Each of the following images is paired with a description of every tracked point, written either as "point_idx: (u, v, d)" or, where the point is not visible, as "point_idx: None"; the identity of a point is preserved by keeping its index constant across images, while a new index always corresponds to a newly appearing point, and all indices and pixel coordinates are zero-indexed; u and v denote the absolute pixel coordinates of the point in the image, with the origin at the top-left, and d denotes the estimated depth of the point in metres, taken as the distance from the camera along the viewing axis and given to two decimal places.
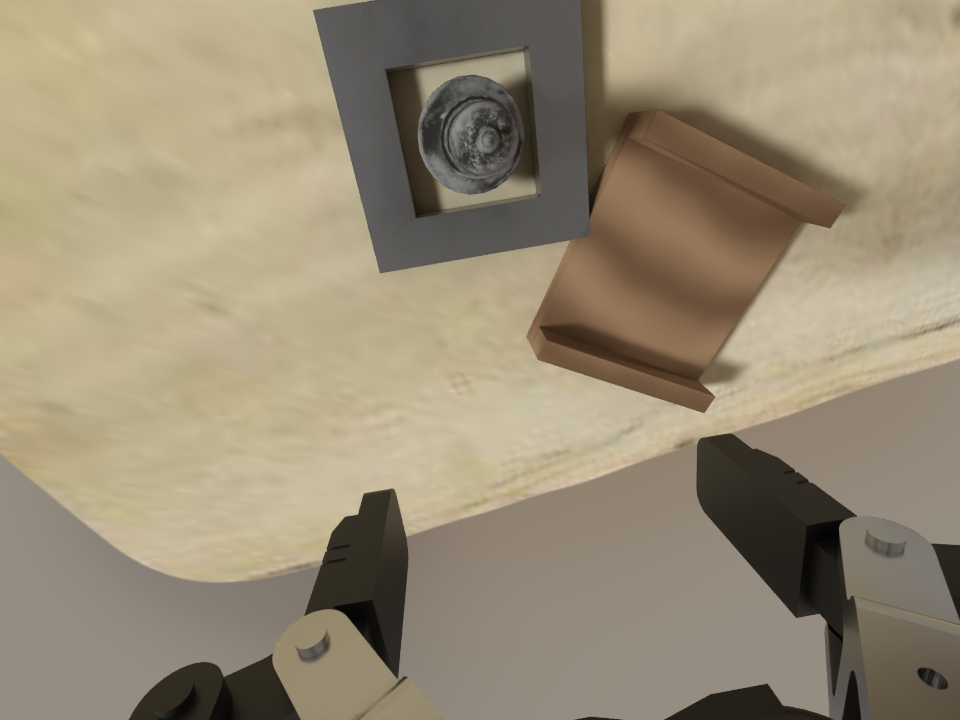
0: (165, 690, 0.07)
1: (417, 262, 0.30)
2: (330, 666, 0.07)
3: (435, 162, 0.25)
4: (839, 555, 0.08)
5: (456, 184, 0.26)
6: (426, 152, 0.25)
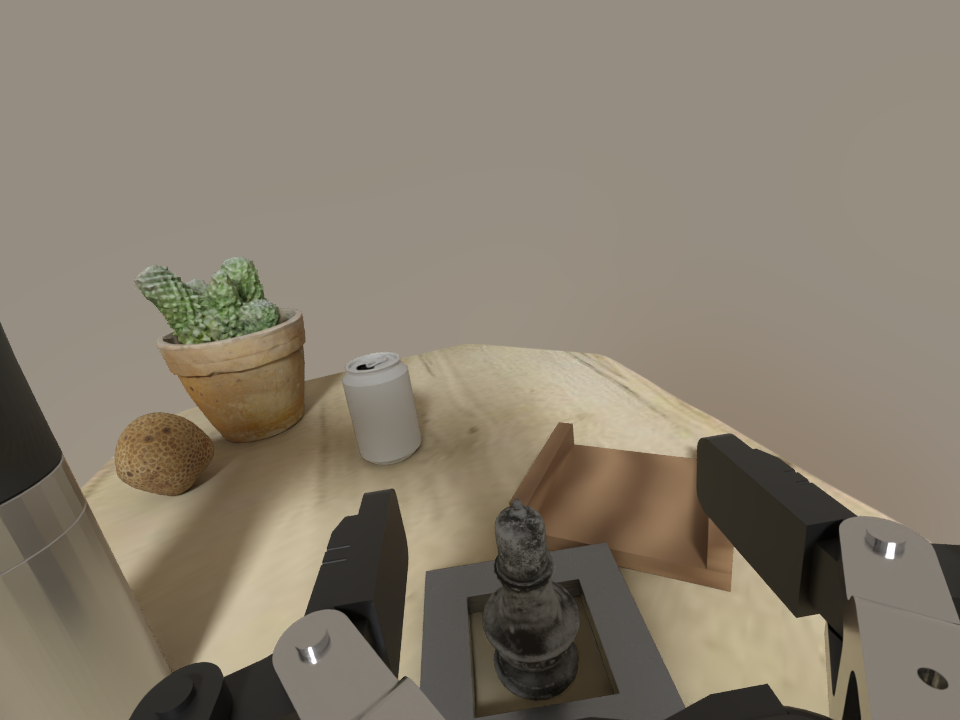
0: (165, 690, 0.07)
1: (673, 693, 0.24)
2: (330, 665, 0.07)
3: (553, 641, 0.26)
4: (839, 555, 0.08)
5: (571, 625, 0.27)
6: (544, 651, 0.25)
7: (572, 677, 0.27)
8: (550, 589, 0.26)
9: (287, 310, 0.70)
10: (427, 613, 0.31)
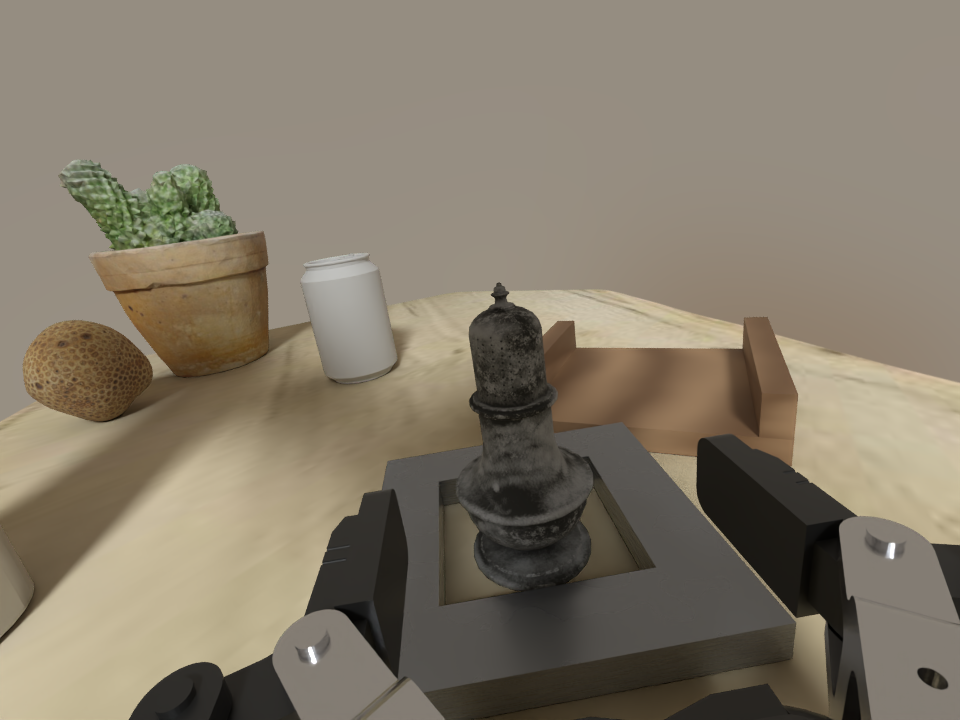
0: (166, 690, 0.07)
1: (736, 563, 0.16)
2: (330, 666, 0.07)
3: (555, 499, 0.18)
4: (839, 555, 0.08)
5: (582, 482, 0.19)
6: (543, 511, 0.17)
7: (583, 562, 0.19)
8: (550, 428, 0.18)
9: None
10: None
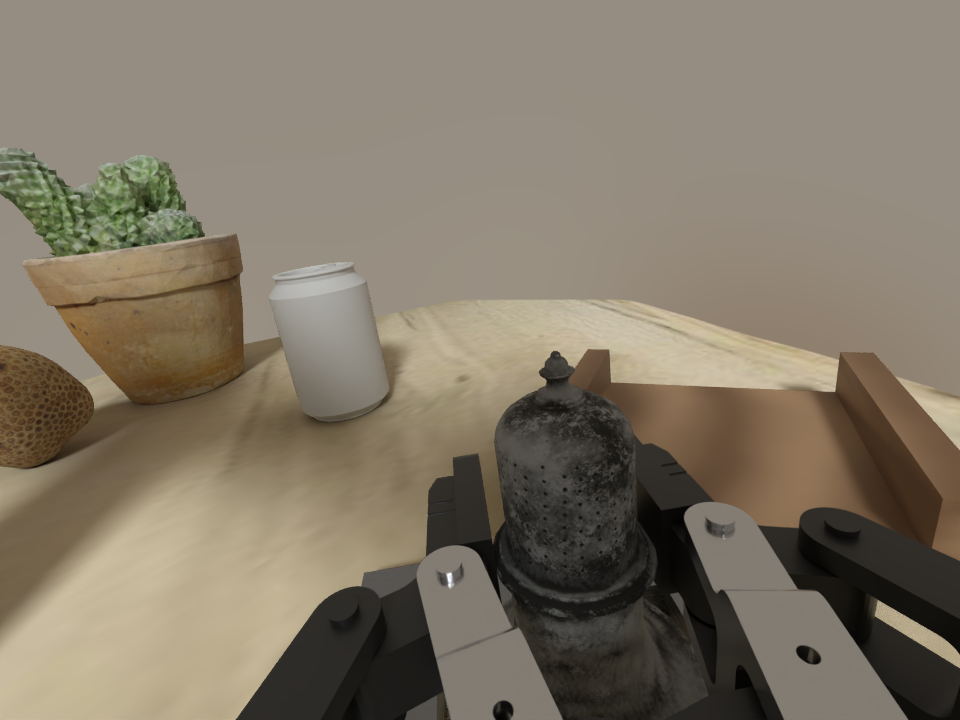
0: (338, 601, 0.08)
1: None
2: (459, 594, 0.08)
3: None
4: (691, 547, 0.08)
5: (693, 701, 0.10)
6: None
7: None
8: (641, 610, 0.10)
9: None
10: None
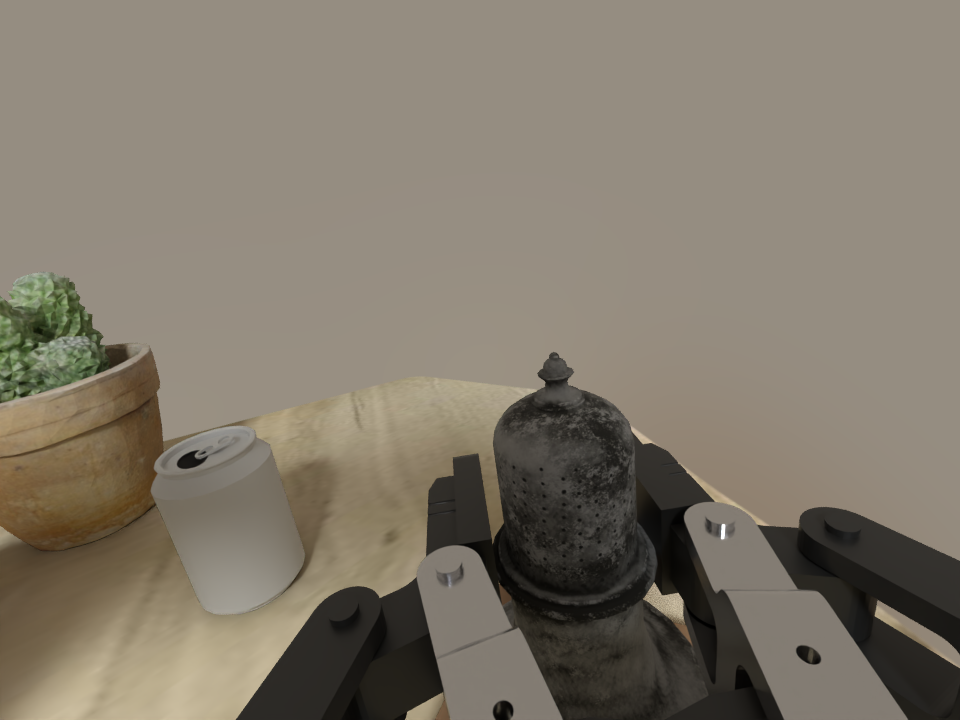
0: (338, 602, 0.08)
1: None
2: (459, 594, 0.08)
3: None
4: (691, 547, 0.08)
5: None
6: None
7: None
8: (641, 612, 0.10)
9: (136, 347, 0.48)
10: None
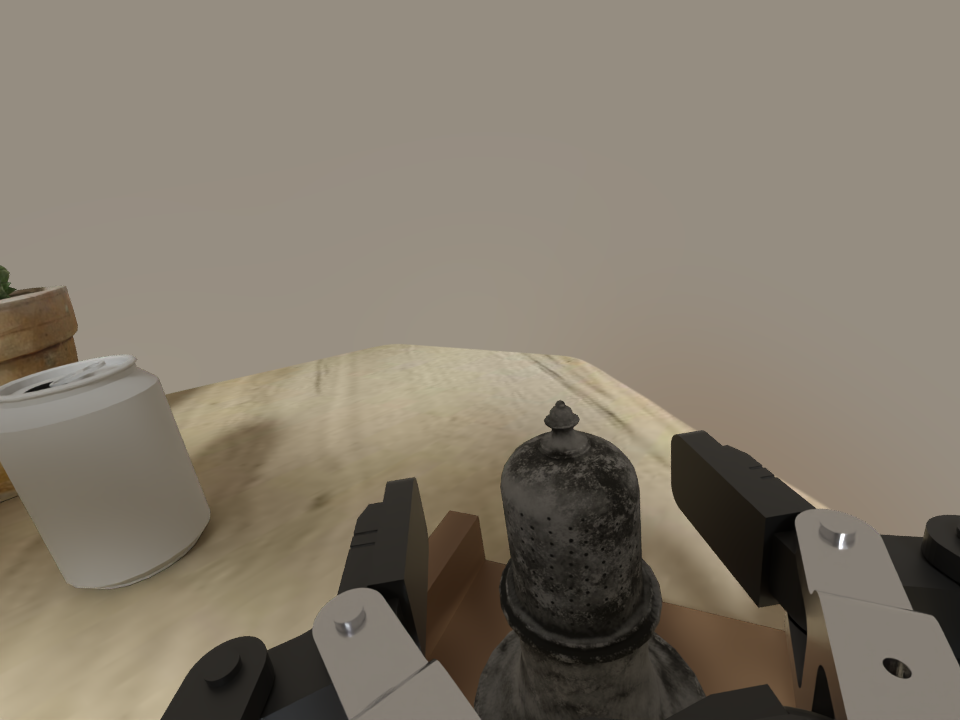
0: (215, 659, 0.07)
1: None
2: (365, 641, 0.07)
3: None
4: (797, 549, 0.08)
5: None
6: None
7: None
8: (647, 649, 0.10)
9: (51, 288, 0.42)
10: None
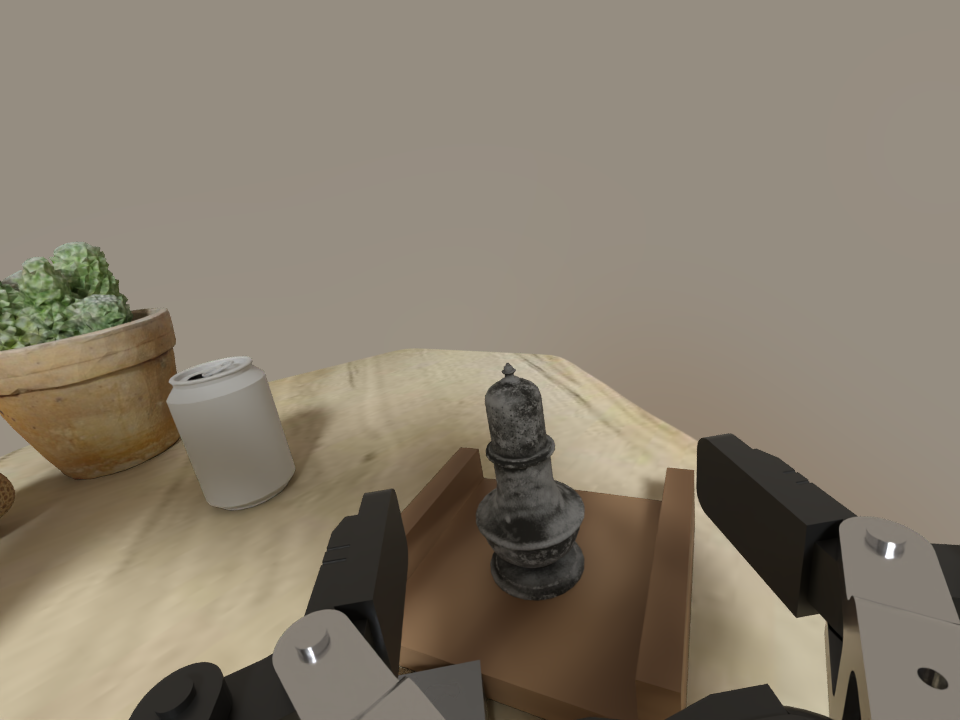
0: (166, 690, 0.07)
1: None
2: (330, 666, 0.07)
3: (554, 529, 0.23)
4: (839, 555, 0.08)
5: (575, 514, 0.24)
6: (545, 538, 0.22)
7: (578, 577, 0.24)
8: (550, 472, 0.23)
9: (156, 310, 0.56)
10: None
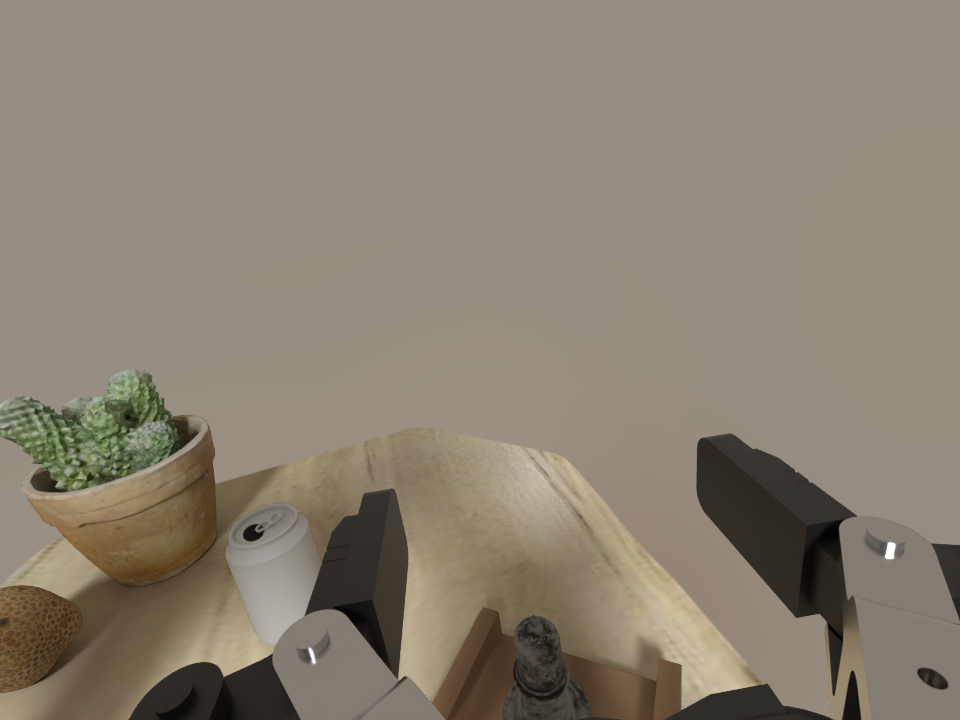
0: (166, 690, 0.07)
1: None
2: (330, 666, 0.07)
3: None
4: (839, 555, 0.08)
5: None
6: None
7: None
8: (565, 694, 0.29)
9: (196, 421, 0.61)
10: None
